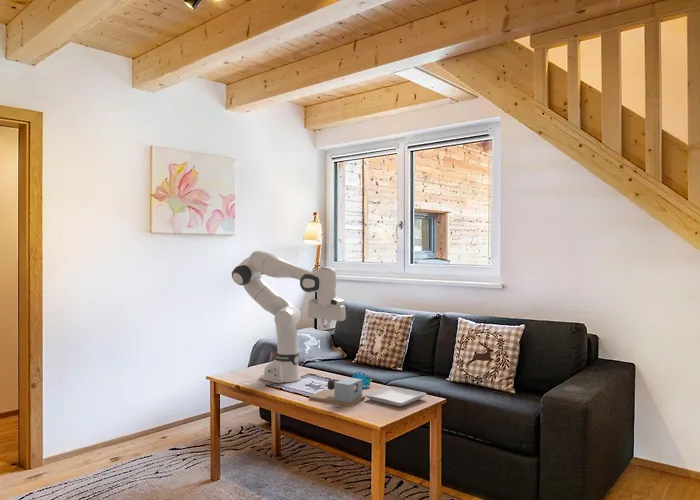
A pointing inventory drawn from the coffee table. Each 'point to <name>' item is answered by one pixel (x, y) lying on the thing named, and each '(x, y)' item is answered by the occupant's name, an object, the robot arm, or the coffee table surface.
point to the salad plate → (395, 396)
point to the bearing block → (341, 393)
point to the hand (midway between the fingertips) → (325, 328)
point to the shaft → (331, 385)
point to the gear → (363, 379)
